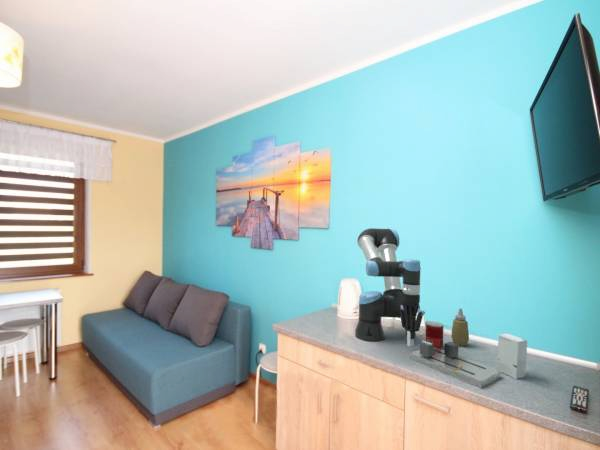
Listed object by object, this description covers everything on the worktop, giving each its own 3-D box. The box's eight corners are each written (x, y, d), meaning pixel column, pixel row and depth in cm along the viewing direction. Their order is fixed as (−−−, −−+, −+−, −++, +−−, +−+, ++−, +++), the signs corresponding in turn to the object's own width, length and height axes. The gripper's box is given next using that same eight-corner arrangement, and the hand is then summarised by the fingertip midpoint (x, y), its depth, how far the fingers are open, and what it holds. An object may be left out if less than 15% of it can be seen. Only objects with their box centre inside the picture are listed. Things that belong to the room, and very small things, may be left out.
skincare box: (496, 370, 126) (496, 334, 126) (505, 368, 128) (506, 332, 128) (517, 379, 118) (518, 341, 118) (527, 377, 120) (527, 339, 120)
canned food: (444, 349, 147) (445, 326, 147) (427, 347, 148) (427, 325, 149) (440, 343, 154) (441, 321, 155) (424, 342, 156) (424, 320, 156)
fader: (419, 354, 133) (419, 341, 133) (425, 352, 135) (425, 339, 135) (428, 357, 130) (428, 344, 130) (433, 355, 132) (433, 342, 132)
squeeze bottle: (452, 346, 151) (453, 309, 151) (449, 340, 159) (450, 306, 159) (470, 348, 149) (471, 311, 149) (467, 342, 157) (467, 307, 157)
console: (409, 358, 135) (409, 340, 135) (430, 351, 144) (430, 334, 144) (481, 388, 111) (481, 366, 111) (500, 377, 120) (501, 357, 120)
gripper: (394, 291, 143) (393, 342, 142) (418, 296, 132) (417, 351, 132) (404, 290, 147) (403, 339, 147) (428, 295, 136) (428, 348, 136)
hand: (410, 345), depth 139 cm, fingers closed
